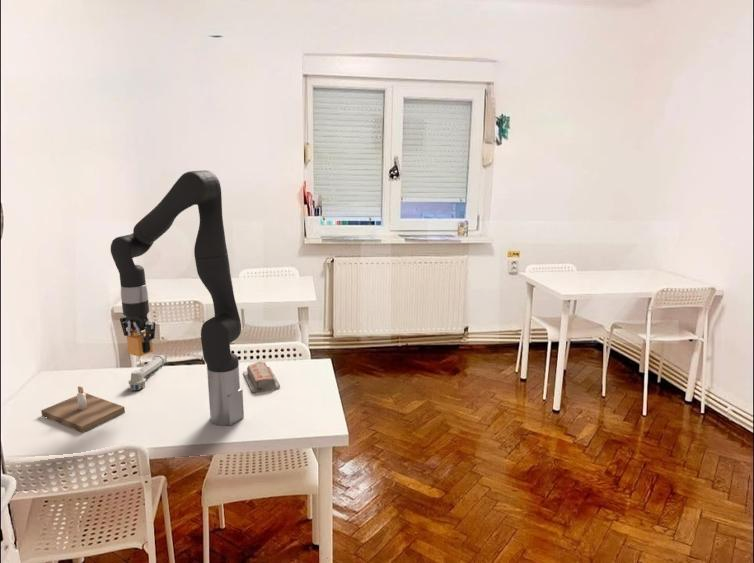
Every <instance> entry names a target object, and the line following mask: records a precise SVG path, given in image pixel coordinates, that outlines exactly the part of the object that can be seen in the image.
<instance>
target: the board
mask: <svg viewBox="0 0 754 563" xmlns="http://www.w3.org/2000/svg"><path fill="white" fill-rule="evenodd" d="M85 396H86V403H87V409H85V410H79V405H78V398H77V395H75V396H72V397H70V398H67V399H65V400H63V401H60V402H58V403H55V404H53V405H51V406H49V407H46V408H44V409H41V417H43V416H44V417H43V418H45V417H47V418H46V419H48V420H50V421H53V422H55V423H57V422H58V424H60V425H63V426H65V427H67V428H70V429H72V430H75V431H77V432H79V433H85V432H89V430H92V429H94V428H95V427H98V426H100V425H102V424H104V423H106V422H108V421H110V420H112V419H115V418H118V417H119V416H121V415H123V414H125V413H126V412H125V411H126V410H125V406H123V405H121V404H118V403H114V402H112V401H109V400H106V399H103V398H101V397H98V396H95V395H92V394H89V393H86V392H85Z"/></svg>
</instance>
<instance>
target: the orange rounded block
mask: <svg viewBox="0 0 754 563" xmlns="http://www.w3.org/2000/svg"><path fill="white" fill-rule="evenodd" d="M144 331H145V330H143V331H141V332H144ZM150 336H151V334H150ZM144 338H145V334H144ZM126 340H127V341H126V342H127V350H128V351H127V352H128V355H131V356H135V357H138V358H140V357H142V356H145V355H147V354H150V353H153V351H154V350H153V342H152V341H153V339H152V340H150V351H149V352H147V353H143V348H142V340H141V337H140V336H139V335H138V333H137V331H134V332H133V334H132V335H130V336H126Z"/></svg>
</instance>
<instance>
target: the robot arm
mask: <svg viewBox="0 0 754 563" xmlns="http://www.w3.org/2000/svg"><path fill="white" fill-rule="evenodd" d="M222 197H223V196H222V186H221V183H220V180H219V178H218V177H217V175H216V174H215V173H214V172H212V171H210V170H192V171H186V172H184V173H183V174H182V175H180V177H179V178H178V179H177V180H176V181H175V183H174V184H173V185H172V187H171V188H170V189H169V190H168V192H167V194H166V195H165V196H163V198H162V199H161V200H160V201H159V203H158V204H157V205H156V206H155V207H154V208H153V209H152V210H150V212H148V213H147V214H146V215H145V216H144V217H143V218H142V219H140V220H139V221H138V222H137V223H136V224H135V225H134V226H133V230H132V231H133V233H131V234H126V235H120V236H117V237H114V238H113V240H112V241H111V244H110V254H111V257H112V259H113V262H114V264H115V266H116V269H117V271H118V274H119V280H120V298H121V307H122V308H121V309H122V315H123V317H120V318H119V321H120V325H121V329H122V332H123V336H124V337H127V336H130V335H132V334H133V332H134V331H137V333H138V335H139V336H140V337H141V340H142V348H143V353H147V352H149V351H150V340H152V341H153V340H154V339H155V338H156V337H155V333H156V322H155V321H152V322H151V321H149V318H148V314H149V312H150V305H149V304H150V303H149V294H148V288H147V283H146V274H145V268H144V267H143V266H142V265H139V264H135V262H134V259H133V258H138V257H141V256H143V255H144V254H146V253H147V252H148V251H149V250H150V248H151V247H152V246H153V245H154V243H155V242H156V241H157V240H158V239H159V238H160V237H162V236H163V235H164V234H165V233H166V232H168V230H169V229H170V228H171V227H172V226H173V223H174V221H175V219H177V216H179V215H180V214H181V213H182V212H184V211H185V210H187V209H189V208H191V207H193V206H194V205H197V208H198V216H199V225H198V231H197V234H196V239H195V242H194V247H193V248H194V249H193V250H194V251H193V252H194V253H193V254H194V261H195V262H194V263H195V267H196V272H197V275H198V277H199V279H200V281H201V283H202V284H203V286H204V287H205V288H206V289H207V291H208V293H209V294H210V296H211V300H212V305H213V310H214V316H213V317H210V318H208V319H207V320H206V321H205V322H203V324H202V326H201V329H200V339H201V340H200V341H201V348H202V350H201V351H202V357H203V360H204V362H205V363H206V373H207V387H208V402H209V412H210V413H209V414H210V415H209V416H210V422H211V423H212V424H214V425H218V426H232V425H233V424H235V423H237V422H239V421H241V420H242V419H243V418H244V417H245V413H244V394H243V393H244V392H243V389H242V388H240V386H241V385H240V384H241V383H240V368H239V367H240V366H239V365H240V363H239V357H238V355H237V354H235V353H233V352H231V346H230V345H231V343H233V342H234V341H236V340H237V339H238V338H239V337H240V335H241V332H242V322H241V321H242V320H241V318H240V314H239V311H238V306H237V302H236V299H235V294H234V287H233V280H232V275H231V268H230V260H229V259H230V258H229V254H228V248H227V242H226V236H225V235H226V234H225V228H224V219H223V202H222V200H223V198H222ZM141 331H144V332H141ZM144 334H145V338H144ZM150 334H151V336H150Z"/></svg>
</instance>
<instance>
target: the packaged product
mask: <svg viewBox="0 0 754 563" xmlns="http://www.w3.org/2000/svg"><path fill="white" fill-rule="evenodd" d="M242 373H243V375H244V377H245V379H246V381H247V385H248V386H249V388H250V390H251V393H252V394H256V393H261V392H262V391H263V392H268V391H273V390H272V389H275V390H279V389H278V388H280V389H281V385H280V382H279V380H278V379H277V376H276V375H275V374H274V372H273V370H272V368H271V366H267V364H266V362H265V361H257V362H254V363H252V364H249V365H248V366H247V368H246V370H245V371H243V372H242ZM267 390H268V391H267Z"/></svg>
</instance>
